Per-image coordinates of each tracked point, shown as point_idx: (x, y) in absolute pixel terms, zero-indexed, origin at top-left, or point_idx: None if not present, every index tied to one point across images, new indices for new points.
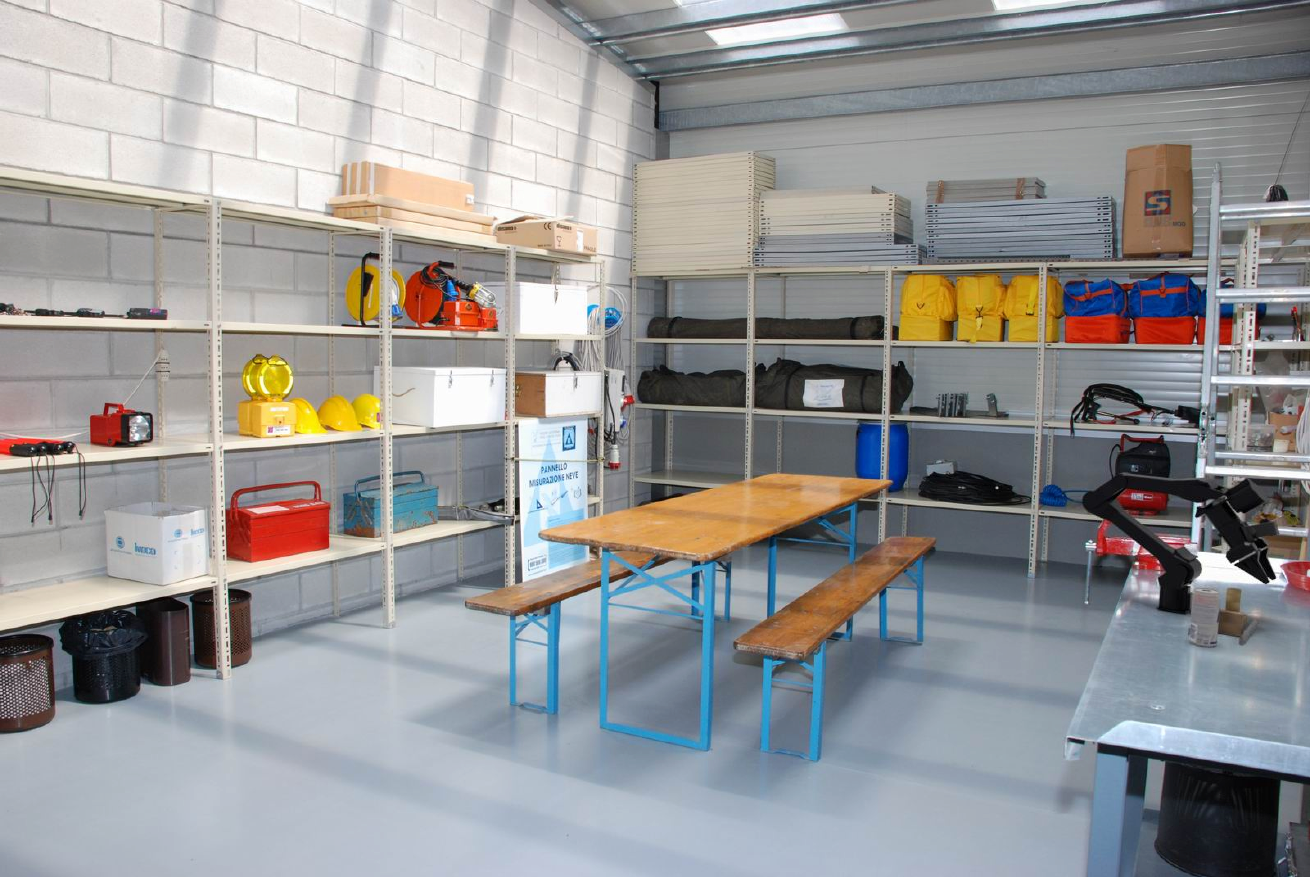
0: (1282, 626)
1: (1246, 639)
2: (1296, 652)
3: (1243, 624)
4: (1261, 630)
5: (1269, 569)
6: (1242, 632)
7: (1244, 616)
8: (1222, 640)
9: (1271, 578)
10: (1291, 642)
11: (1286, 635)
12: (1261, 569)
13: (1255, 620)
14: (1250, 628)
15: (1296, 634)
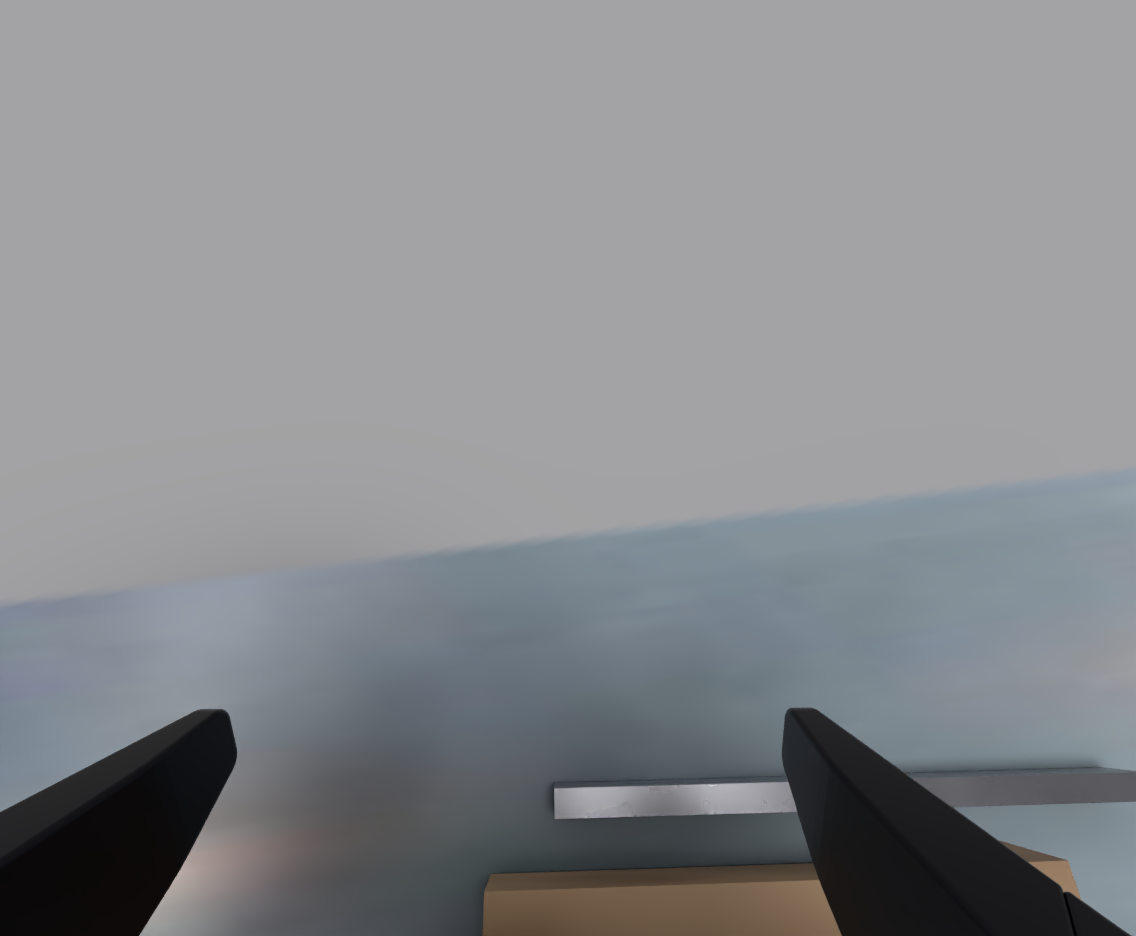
0: (415, 648)
1: (984, 771)
2: (945, 507)
3: (656, 873)
4: (624, 741)
5: (82, 853)
6: None
7: (558, 904)
8: (1124, 917)
9: (219, 775)
10: (767, 552)
11: (631, 595)
12: (1054, 902)
13: (557, 806)
14: None
15: (563, 555)
